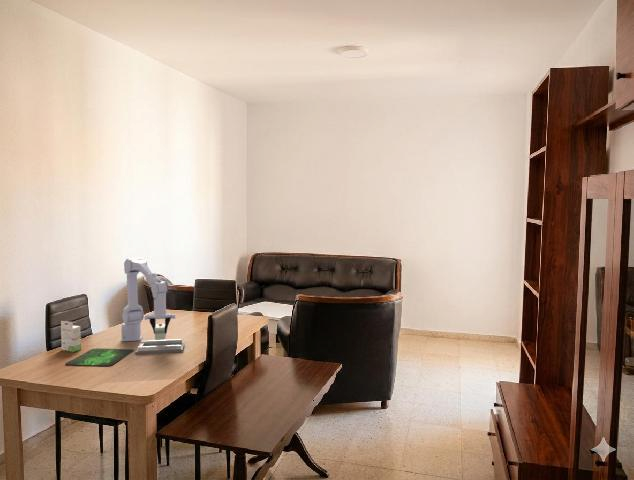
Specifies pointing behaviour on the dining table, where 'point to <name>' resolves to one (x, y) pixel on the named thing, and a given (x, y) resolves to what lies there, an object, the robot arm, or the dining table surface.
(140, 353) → the mounting board
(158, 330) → the module
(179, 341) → the rail
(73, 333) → the ink box
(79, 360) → the mouse mat
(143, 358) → the dining table surface
